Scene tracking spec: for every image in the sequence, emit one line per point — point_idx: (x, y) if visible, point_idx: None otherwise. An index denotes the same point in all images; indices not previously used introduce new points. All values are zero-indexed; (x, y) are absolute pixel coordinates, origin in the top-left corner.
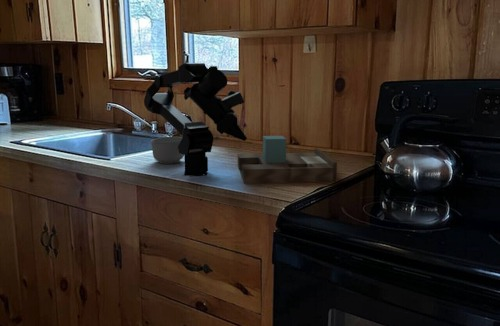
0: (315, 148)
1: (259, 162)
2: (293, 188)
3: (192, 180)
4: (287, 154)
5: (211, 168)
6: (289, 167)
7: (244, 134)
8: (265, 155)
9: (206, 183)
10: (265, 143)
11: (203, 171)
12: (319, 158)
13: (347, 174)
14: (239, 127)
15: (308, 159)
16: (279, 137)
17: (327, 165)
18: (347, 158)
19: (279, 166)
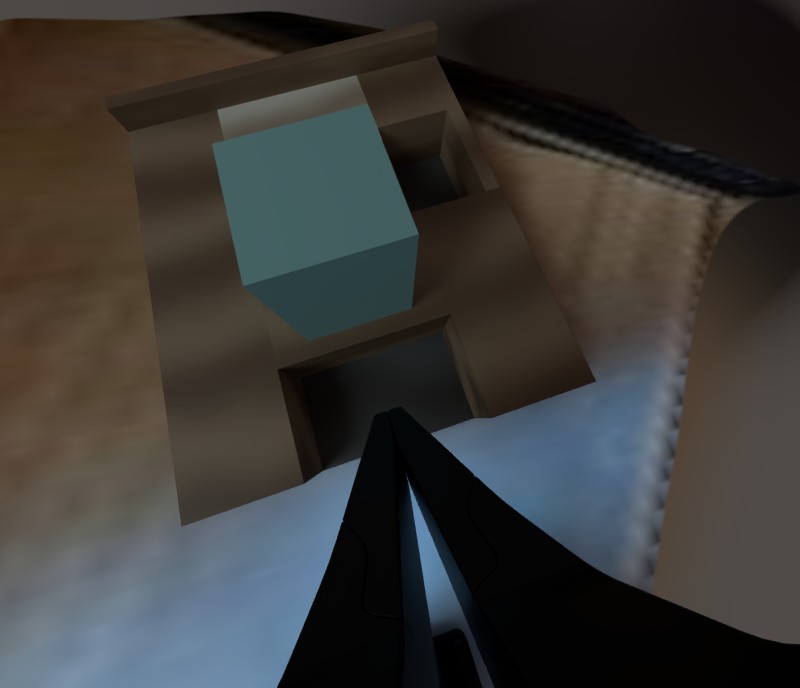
0: (114, 104)
1: (321, 360)
2: (556, 209)
3: None
4: (178, 238)
5: None
6: (482, 194)
7: (393, 436)
8: (411, 293)
9: (613, 564)
10: (409, 257)
11: (442, 663)
12: (264, 105)
13: None
14: (510, 509)
15: None
16: (309, 152)
17: (401, 73)
18: (48, 80)
19: (475, 235)
